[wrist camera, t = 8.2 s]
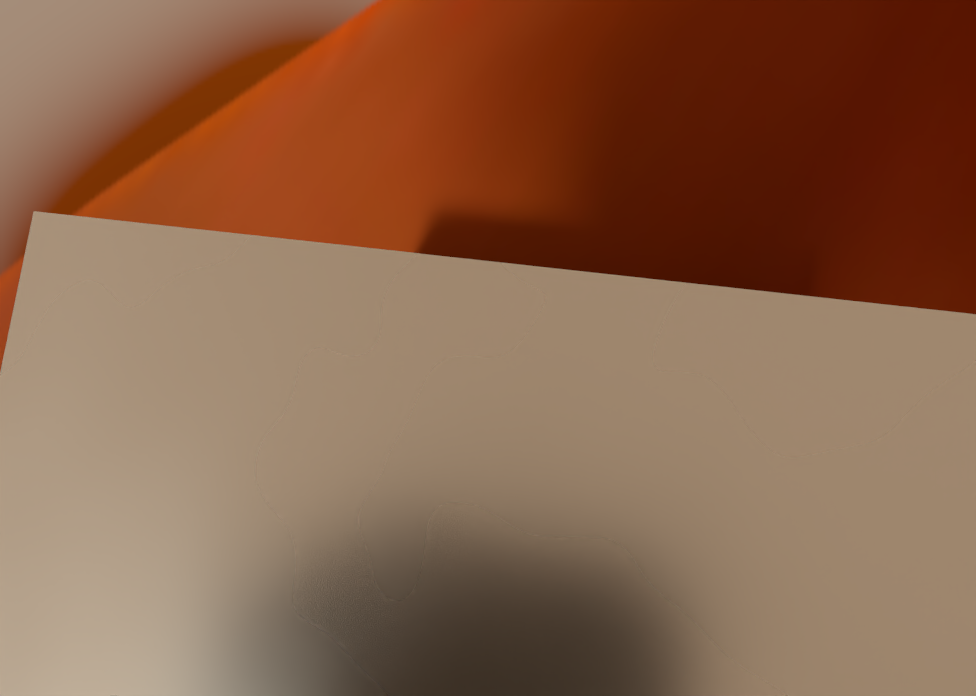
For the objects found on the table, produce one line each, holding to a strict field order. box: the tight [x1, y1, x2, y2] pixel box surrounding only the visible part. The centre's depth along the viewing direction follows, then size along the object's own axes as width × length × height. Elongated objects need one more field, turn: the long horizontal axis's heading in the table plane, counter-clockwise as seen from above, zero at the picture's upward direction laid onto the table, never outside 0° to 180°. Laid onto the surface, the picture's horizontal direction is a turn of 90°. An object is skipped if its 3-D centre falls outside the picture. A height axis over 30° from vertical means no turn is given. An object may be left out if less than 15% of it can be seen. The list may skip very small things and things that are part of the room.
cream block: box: [0, 211, 976, 696], centre depth 10 cm, size 6×6×12 cm
